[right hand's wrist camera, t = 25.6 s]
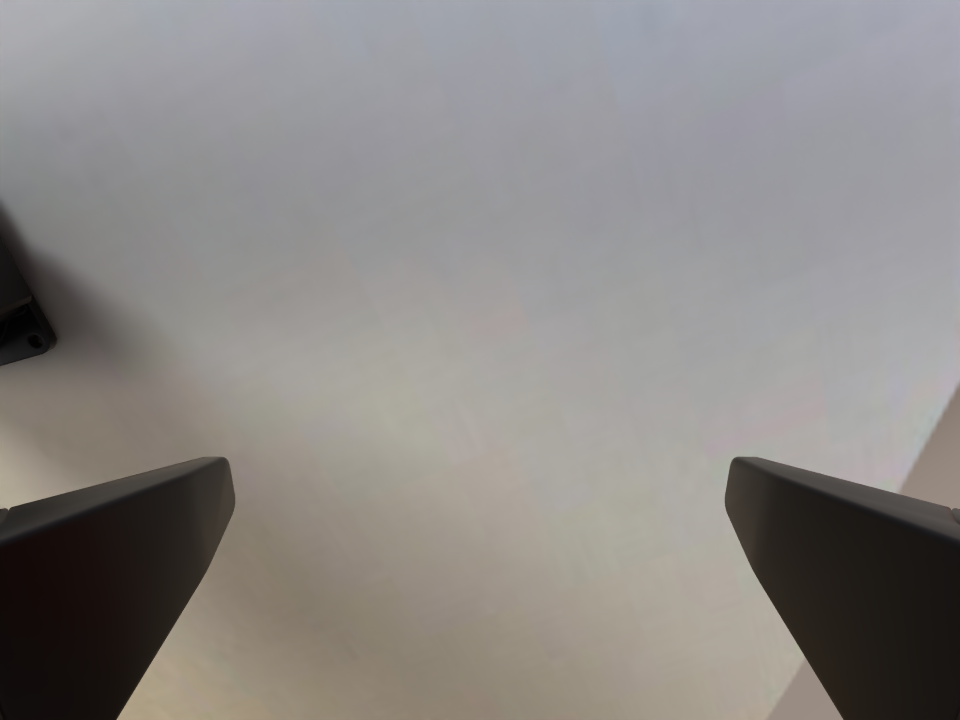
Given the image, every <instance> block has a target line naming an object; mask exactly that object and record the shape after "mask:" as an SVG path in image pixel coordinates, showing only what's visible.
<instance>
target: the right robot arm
mask: <svg viewBox="0 0 960 720" xmlns="http://www.w3.org/2000/svg"><path fill="white" fill-rule="evenodd" d="M35 335H37V336H39V337H40V338H41V339H42V342H43V344H42V343H40V342H38V341H37V340H36V337H35ZM56 340H57V338H56V336H55V333H54V331H53V330H52V328H51V326H50V324H49V323H48V321H47V319H46V317H45V316H44V314H43V312H42V310H41V309H40V307H39V305H38V303H37V301H36V300H35V298H34V296H33V294H32V293H31V291H30V289H29V287H28V286H27V284H26V282H25V280H24V278H23V277H22V275H21V273H20V271H19V270H18V268H17V266H16V264H15V263H14V261H13V259H12V257H11V256H10V254H9V252H8V250H7V249H6V247H5V245H4V243H3V242H2V240H1V238H0V366H2V365H5V364H9V363H12V362H16V361H19V360H23V359H26V358H30V357H33V356H37V355H40V354H43V353H45V352H47V351H48V350H50V349H52V348H54V346H55V345H56ZM234 507H235V493H234V487H233V481H232V475H231V470H230V464H229V462H228V460H227V459H226V458H224V457H202V458H198V459H194V460H190V461H186V462H183V463H179V464H175V465H171V466H167V467H163V468H160V469H156V470H152V471H148V472H144V473H140V474H137V475H133V476H129V477H125V478H121V479H118V480H114V481H110V482H106V483H102V484H98V485H95V486H91V487H87V488H83V489H79V490H76V491H72V492H68V493H64V494H60V495H56V496H53V497H49V498H45V499H41V500H37V501H34V502H30V503H26V504H22V505H18V506H14V507H11V508H10V509H9V511H8V509H6V508H3V509H0V720H117V718H118V716H119V715H120V713H121V711H122V710H123V708H124V706H125V705H126V703H127V702H128V700H129V698H130V697H131V695H132V693H133V692H134V690H135V688H136V687H137V685H138V684H139V682H140V680H141V679H142V677H143V675H144V674H145V672H146V670H147V669H148V667H149V665H150V664H151V662H152V661H153V659H154V657H155V656H156V654H157V652H158V651H159V649H160V647H161V646H162V644H163V643H164V641H165V639H166V638H167V636H168V634H169V633H170V631H171V629H172V628H173V626H174V624H175V623H176V621H177V620H178V618H179V616H180V615H181V613H182V611H183V610H184V608H185V606H186V605H187V603H188V601H189V600H190V598H191V597H192V595H193V593H194V592H195V590H196V588H197V587H198V585H199V583H200V582H201V580H202V578H203V577H204V575H205V573H206V571H207V569H208V567H209V565H210V563H211V561H212V559H213V557H214V554H215V552H216V550H217V548H218V545H219V543H220V541H221V539H222V536H223V534H224V532H225V530H226V527H227V525H228V523H229V521H230V518H231V516H232V514H233V511H234ZM725 507H726V511H727V514H728V516H729V518H730V521H731V523H732V525H733V527H734V530H735V532H736V534H737V536H738V539H739V541H740V543H741V545H742V548H743V550H744V552H745V554H746V557H747V559H748V561H749V563H750V565H751V567H752V569H753V571H754V573H755V575H756V577H757V578H758V580H759V582H760V583H761V585H762V587H763V588H764V590H765V592H766V593H767V595H768V597H769V598H770V600H771V601H772V603H773V605H774V606H775V608H776V610H777V611H778V613H779V615H780V616H781V618H782V620H783V621H784V623H785V624H786V626H787V628H788V629H789V631H790V633H791V634H792V636H793V638H794V639H795V641H796V642H797V644H798V646H799V647H800V649H801V651H802V652H803V654H804V656H805V657H806V659H807V660H808V662H809V664H810V665H811V667H812V669H813V670H814V672H815V674H816V675H817V677H818V679H819V680H820V682H821V683H822V685H823V687H824V688H825V690H826V692H827V693H828V695H829V697H830V698H831V700H832V702H833V703H834V705H835V706H836V708H837V710H838V711H839V713H840V715H841V716H842V718H843V720H960V509H957V508H954V509H952V511H951V509H950V508H949V507H945V506H942V505H938V504H934V503H930V502H927V501H923V500H919V499H915V498H911V497H907V496H904V495H900V494H896V493H892V492H888V491H885V490H881V489H877V488H873V487H869V486H865V485H862V484H858V483H854V482H850V481H846V480H842V479H839V478H835V477H831V476H827V475H823V474H820V473H816V472H812V471H808V470H804V469H800V468H797V467H793V466H789V465H785V464H781V463H778V462H774V461H770V460H766V459H762V458H758V457H736V458H734V459H733V460H732V462H731V464H730V470H729V475H728V481H727V487H726V493H725Z"/></svg>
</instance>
